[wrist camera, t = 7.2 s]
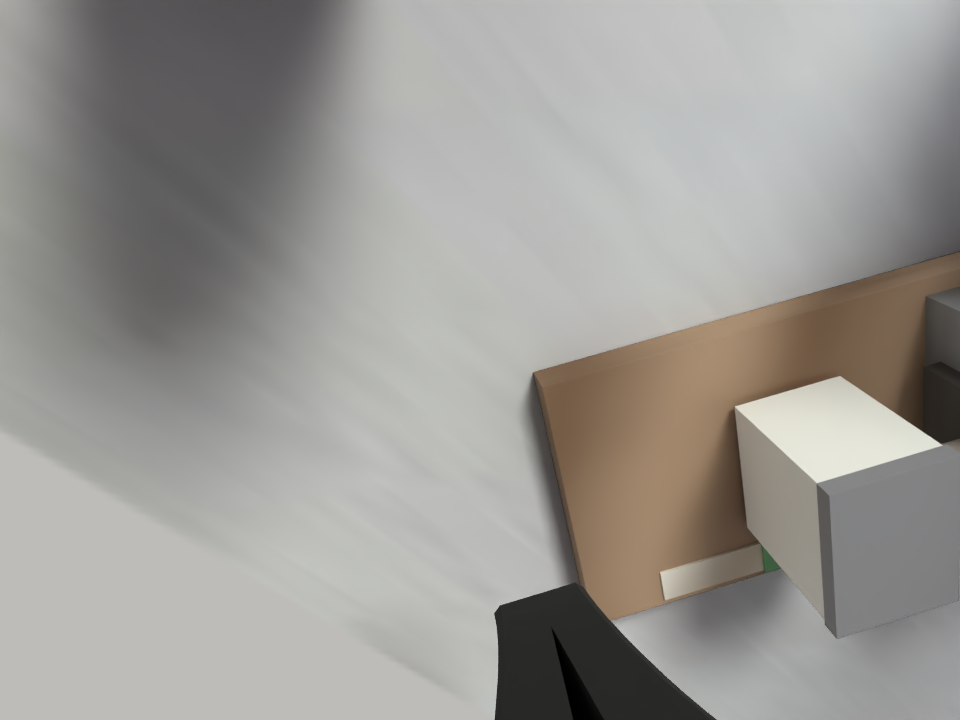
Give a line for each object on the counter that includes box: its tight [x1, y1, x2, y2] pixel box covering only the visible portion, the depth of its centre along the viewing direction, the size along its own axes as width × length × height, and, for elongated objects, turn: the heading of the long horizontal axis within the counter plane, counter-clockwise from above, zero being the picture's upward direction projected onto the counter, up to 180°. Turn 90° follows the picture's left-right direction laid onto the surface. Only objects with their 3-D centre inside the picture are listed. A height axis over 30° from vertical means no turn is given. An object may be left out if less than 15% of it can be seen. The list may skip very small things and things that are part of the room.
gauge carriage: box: [735, 376, 960, 639], centre depth 20 cm, size 3×6×4 cm, turn 13°
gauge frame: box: [533, 252, 960, 621], centre depth 20 cm, size 14×8×6 cm, turn 103°
